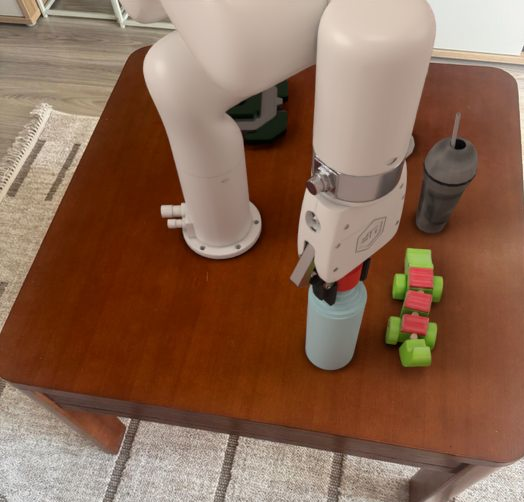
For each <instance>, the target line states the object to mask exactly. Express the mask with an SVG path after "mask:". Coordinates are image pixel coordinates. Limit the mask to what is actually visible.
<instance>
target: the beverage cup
mask: <svg viewBox="0 0 524 502" xmlns="http://www.w3.org/2000/svg"><path fill="white" fill-rule="evenodd" d="M454 119H455V120H454V125H453V131H452V135H451V136H448V137H444V138H442V139H441V140H439V141H438V142H436V143H435V144H434V145H433V146H432V148H430V150H429V151H428V153H427V155H426V156H425V158H424V161H423V163H422V166H423V168H422V182H421V187H420V193H419V199H418V204H417V210H416V218H415V224H416V226H417V228H418V229H419V230H420V231H422V232H424V233H427V234H435V233H436V234H437V233H439V232H442V230H443V229H444V228H445V226H446V224H447V223H448V221H449V220H450V218H451V216H452V214H453V213H454V210H455V209H456V207H457V205H458V203H459V201H460V199H461V198H462V196H463V194H464V192H465V190H466V189H467V188H468V186H469V185H470V183H472V181H473V180H474V178H475V177H476V175H477V172H478V165H479V155H478V152H477V149H476V148H475V146H474V145H473V143H472V142H471V141H470V140H468V139H467V138H464V137H462V136H458V130H459V126H460V120H461V112H456V115H455V118H454Z"/></svg>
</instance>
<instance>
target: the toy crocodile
mask: <svg viewBox="0 0 524 502" xmlns="http://www.w3.org/2000/svg"><path fill="white" fill-rule="evenodd" d="M432 259H433V258H432V250H431V249H425V248H424V249H423V248H412V247H406V249H405V256H404V273H395V274H394V276H393V281H392V299H394V300H403V303H402V307H401V311H400V315H399V316H392V315H391V316H389V318H388V321H387V326H386V332H385V344H389V345H394V346H395V345H397V344H398V342H399V343H402V344H400V347H398V352H399V357H400V362H401V365H402V366H403V367H405V368H411V367H413V368H416V367H431V365H432V353H431V352H432V351H433V349H434V347H435V345H436V340H437V333H438V324H437V323H436V322H430V318H429V317H428V316H429V314H430V311H431V306H432V303H439V302H440V301H441V298H442V294H443V288H444V279H443V276H440V275H434V267H435V266H434V264H433V260H432Z"/></svg>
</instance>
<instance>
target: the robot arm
mask: <svg viewBox="0 0 524 502" xmlns="http://www.w3.org/2000/svg"><path fill="white" fill-rule="evenodd" d="M118 2H119V3H120V6H122V9H123V10H124V11H125V13H126V14H127V16H129V17H130V18H131V19H132V20H133V21H135V22H137V23H139V24H143V25H149V24H156V23H158V22H161V21H165V20H167V19H169V20H170V22H171V24H172V25H173V26H174V28H175V29H174V30H173V31H170V32H169V33H168V34H166V35H163V37H161V38H159V39H158V40H156V42H155V43H154V44H153V45H152V46H151V47H150V48H149V50H148V51H147V53H146V54H145V57H144V59H143V66H142V73H143V77H144V81H145V85H146V88H147V90H148V92H149V95H150V97H151V99H152V101H153V104H154V106H155V107H156V110H157V112H158V115H159V117H160V119H161V122H162V124H163V126H164V130H165V132H166V135H167V138H168V142H169V145H170V149H171V152H172V156H173V161H174V163H175V168H176V171H177V176H178V179H179V184H180V188H181V192H182V195H183V199H184V202H181V203H180V205H178V204H177V205H174V204H161V206H160V214H161V218H162V219H164V218H165V219H166V218H167V228H168V229H177V228H182V234H183V239H184V240H185V243H186V245H187V246H188V247H189V248H190V249H191V250H192V251H193V252H194V253H196V254H198V255H199V256H202V257H204V258H208V259H213V260H225V259H231V258H234V257H238V256H240V255H242V254H244V253H247V251H248V250H250V249H251V248H252V247H253V246H254V245H255V244H256V242H257V241H258V239H259V238H260V235H261V232H262V218H261V214H260V211H259V209H258V208H257V206H255V204H254V203H253V202H251V201H250V193H249V185H248V174H247V166H246V157H245V156H246V153H245V145H244V140H243V137H242V133H241V131H240V128H239V127H238V125H237V123H236V122H235V121H234V120H233V119H232V118H231V117H230V116H229V115H228V114H226V113H225V112H226V111H227V110H228V109H230V108H232V107H233V106H235V105H237V104H239V103H240V102H242V101H243V100H245V99H247V98H249V97H251V96H253V95H256V94H258V93H260V92H262V91H264V90H266V89H269V88H270V87H272V86H274V85H276V84H278V83H280V82H282V81H284V80H286V79H287V80H288V79H289V78H291V77H293V76H295V75H297V74H299V73H300V72H303V71H305V70H306V69H308V68H310V67H312V66H314V65H315V83H314V84H315V88H314V89H315V90H314V110H313V127H312V148H311V169H310V173H311V175H310V176H311V178H309V179H308V180H306V181H305V186H306V188H305V191H304V195H303V200H302V203H301V208H300V209H301V210H300V215H299V220H298V221H299V222H298V229H297V230H298V231H297V232H298V233H297V254H298V258H299V260H298V262H297V264H296V266H295V267H294V269H293V271H292V273H291V274H290V276H289V281H290V282H291V283H292V284H293V285H294V286H295V287H296V288H297V289H302V288H305V287H308V286H310V285H312V289H313V293H314V295H315V296H316V297H317V298H318V299H319V300H321V301H322V300H324V301H325V302H326V303H327V304H329V305H330V306H332V305H333V304H335V301H336V295H337V288H338V283H337V282H336V281H337V280H339V279H341V278H342V277H344V276H345V275H346V274H348V273H349V272H350V271H352V270H353V269H354V268H356V267H357V266H358V265H360V264H361V263H362V262H363V265H362V270H361V275H360V279H359V281H362V282H365V280H366V279H367V278H368V275H369V270H370V266H371V260H372V258H371V256H373V255H374V254H375V253H376V252H378V251H379V250H380V249H381V248H383V247H384V246H385V245H387V244H388V243H389V242H390V241H391V240H392V239H393V238H394V237H395V235H396V234H397V232H398V230H399V226H400V222H401V218H402V214H403V208H404V203H405V197H406V191H407V184H408V183H407V180H408V169H407V161H406V159H407V158H406V154H407V150H408V147H409V143H410V139H411V135H412V134H413V131H414V126H415V122H416V120H417V119H416V118H417V116H418V115H417V114H418V111H419V106H420V103H421V98H422V95H423V91H424V86H425V84H426V83H425V82H426V78H427V76H428V73H427V71H428V72H429V67H430V62H431V58H432V55H433V51H434V46H435V41H436V37H437V35H436V34H437V22H436V16H435V13H434V11H433V8H432V6H431V5H430V3H429V2H428V1H427V0H118ZM426 75H427V76H426ZM412 136H413V135H412ZM180 217H181V219H180ZM176 218H179V219H176Z"/></svg>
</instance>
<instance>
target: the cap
mask: <svg viewBox="0 0 524 502" xmlns="http://www.w3.org/2000/svg"><path fill="white" fill-rule="evenodd" d="M362 265H363V262H362V263H361V264H360V265H358V266H357V267H356V268H354V269H353V270H352V271H350V272H349V273H348V274H346V275H345V276H344V277H342V278H341V279H339V280H337V281H336V282H337V283H338V288H337V291H338V292H345V291H349V290H351V289H353V288H354V287H355V286H356V285H357V284H358V282H359V279H360V275H361V270H362Z"/></svg>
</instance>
